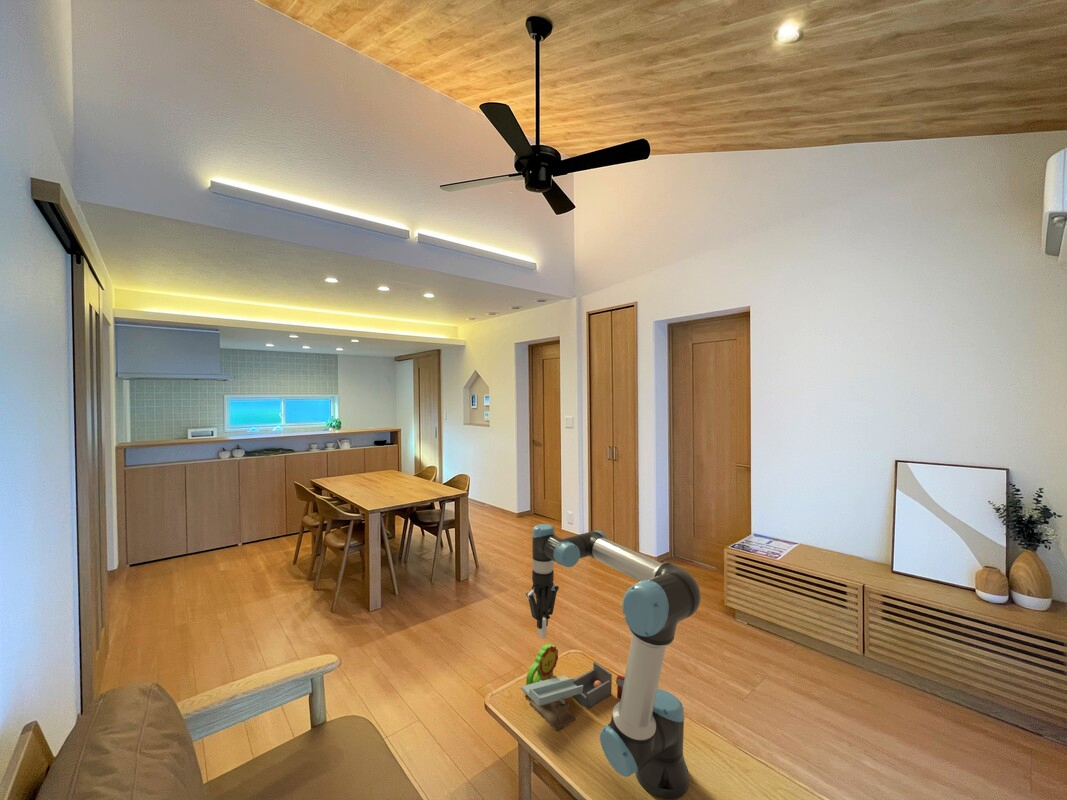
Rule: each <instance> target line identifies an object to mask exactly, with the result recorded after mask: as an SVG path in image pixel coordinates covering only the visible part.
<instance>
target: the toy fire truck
mask: <svg viewBox="0 0 1067 800" xmlns="http://www.w3.org/2000/svg"><path fill="white" fill-rule="evenodd" d="M624 679H625V676H624V675H619V674H618V675H617V676H616V680H615V682H616V686H617V688H616V689H617V691H616V693H617V694H616V701H617V703H618V702H620V701H621V696H622V690H623V684H624Z"/></svg>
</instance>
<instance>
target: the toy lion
mask: <svg viewBox="0 0 1067 800" xmlns="http://www.w3.org/2000/svg"><path fill="white" fill-rule="evenodd" d="M558 654H559V649H558V648H557V646H555V645H553V644H550V643H546V644H545V645H542V646H541V648H540V650H538V652H537V654H536V657H535V660H534V662H533V663H532V665H531V666H530V668H529V669H528V672H527V674H526V683H525V685H528V684H532V683H536V682H539V680H542V681H544V680H548V679H552V678H556V677H557V676H556V675H554V669H555V668H556V667H557V662H558V660H559V655H558ZM535 674H536V675H535ZM523 693H524V694H525V695H527V694H526V693H525V692H523ZM527 696H528V695H527Z"/></svg>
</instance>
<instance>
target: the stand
mask: <svg viewBox="0 0 1067 800" xmlns="http://www.w3.org/2000/svg"><path fill="white" fill-rule="evenodd" d="M529 705H530V707H532V709H534V711H536V713H537V714H539V715H540V717H542V718H543V719H544V720H545V722H547V723H548V724H549V725H550V726H551V727H552V728H553V729H554V730H555V731H556V732H559V731H560V730H562V729H563V728H565V727H566V726H568V725H570V724H572V723H573V722H574V721H576V717H575V716H574V715H573V714H572V713H570V711H569V703H568V702H567V701H566V702H565V704H562V703H561V702H560V701H558V700H557V701H554V702H551V703H547V704H544V705H541V706H538V705H537V704H536V703H535V702H534V701H533V700H532V699H531V700H530V701H529Z"/></svg>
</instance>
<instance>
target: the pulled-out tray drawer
mask: <svg viewBox="0 0 1067 800" xmlns="http://www.w3.org/2000/svg"><path fill="white" fill-rule="evenodd" d="M592 667H593V668H592V669H591V670H589V671H587V672H585V673H582V674H581V675H580V676H577V677H576V678H574V681H573V683H574V684H575V685H576V686H580V685H583V692H582V693H580V694H577V695H574V696H571V697H573V699H575V701H577V702H578V703H579V704H581V705H582V706H583V707H584V708H585V709H587V710H589V709H592V707H594V706H596V705H598V704H599V703H600V702H601V703H602V701H604V700H605V699H608V698H609V697H611V696H612V689H613V688H612V685H613V684H612V683H613V675H612V672H611V671H609V670H607V669H606V668H605V667H603V666H602V665H600V664H599V663H597V661H594V662H593V666H592ZM597 680H599V681H600V682H601V683H602V684H601V685H599V686H597V687H596V688H594V682H595V681H597Z"/></svg>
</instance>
